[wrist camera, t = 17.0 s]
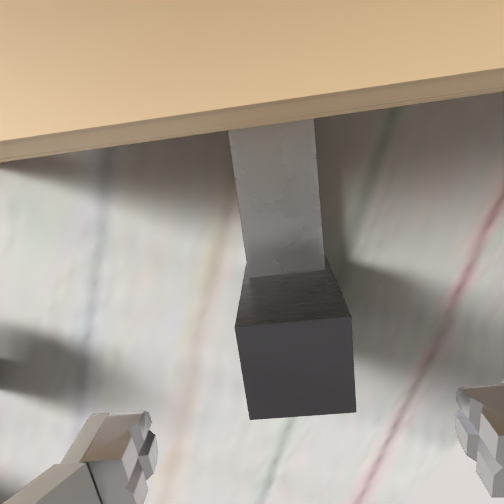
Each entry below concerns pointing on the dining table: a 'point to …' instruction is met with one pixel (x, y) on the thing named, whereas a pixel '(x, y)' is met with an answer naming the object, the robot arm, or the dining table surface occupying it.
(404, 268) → the dining table surface
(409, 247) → the dining table surface
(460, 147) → the dining table surface
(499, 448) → the robot arm
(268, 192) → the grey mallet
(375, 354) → the dining table surface
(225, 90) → the cabinet
